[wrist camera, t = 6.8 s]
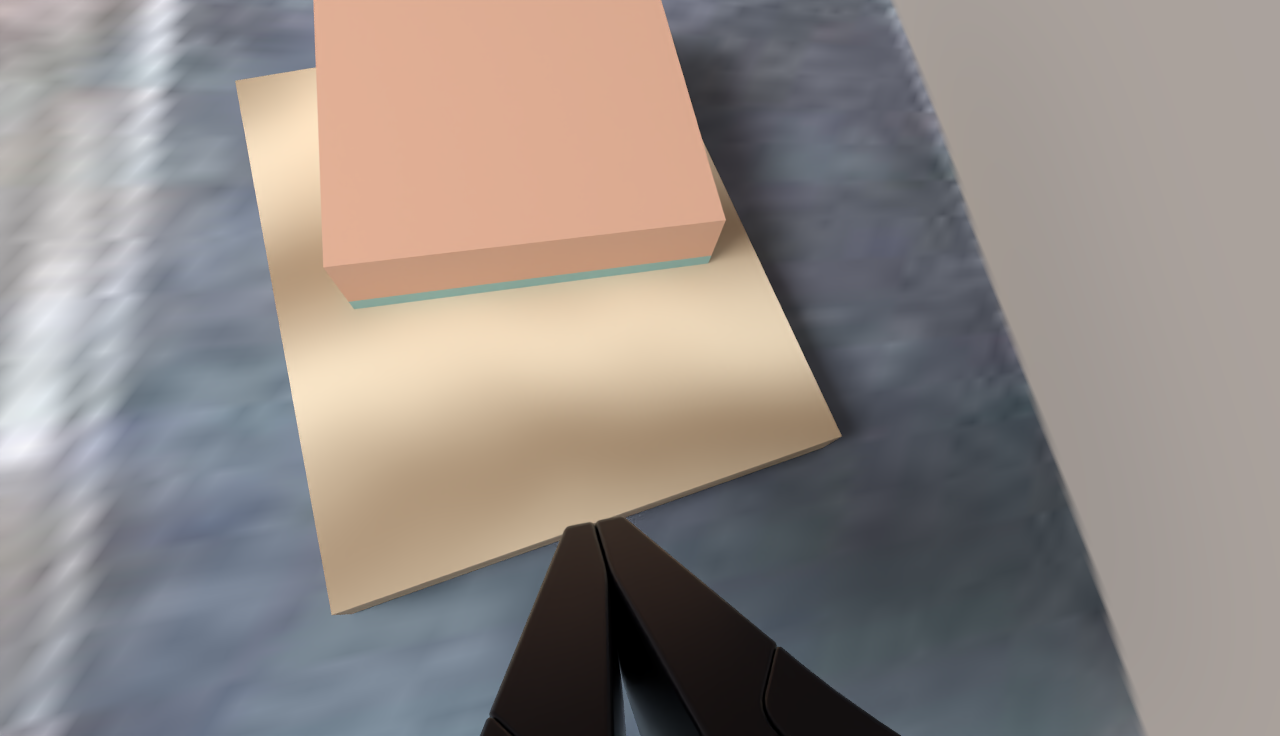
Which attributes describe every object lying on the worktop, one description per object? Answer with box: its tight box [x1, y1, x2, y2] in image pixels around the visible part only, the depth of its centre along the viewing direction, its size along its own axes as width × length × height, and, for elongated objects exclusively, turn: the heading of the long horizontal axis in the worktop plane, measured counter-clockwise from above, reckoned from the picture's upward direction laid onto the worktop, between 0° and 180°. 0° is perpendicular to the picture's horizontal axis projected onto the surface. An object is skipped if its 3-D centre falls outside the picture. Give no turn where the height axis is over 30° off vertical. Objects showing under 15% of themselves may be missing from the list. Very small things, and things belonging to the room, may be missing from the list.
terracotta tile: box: [314, 0, 726, 309], centre depth 16 cm, size 2×9×8 cm
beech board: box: [235, 68, 842, 615], centre depth 16 cm, size 14×12×1 cm
